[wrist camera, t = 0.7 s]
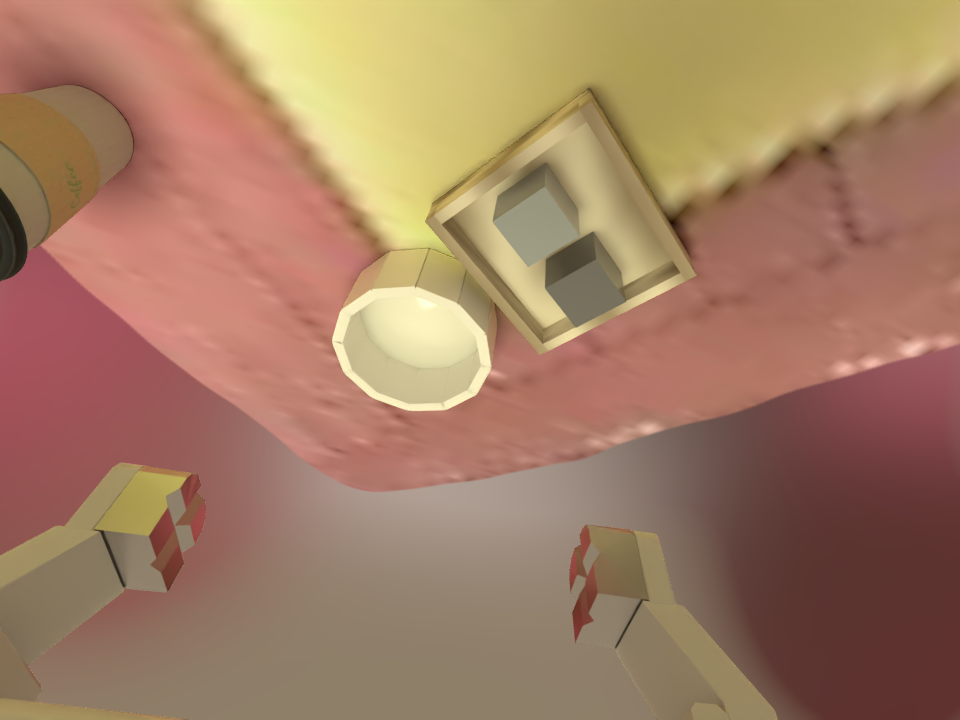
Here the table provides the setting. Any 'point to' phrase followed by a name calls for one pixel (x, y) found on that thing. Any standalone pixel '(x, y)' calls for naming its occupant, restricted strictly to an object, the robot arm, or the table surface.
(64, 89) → the coffee cup
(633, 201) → the parts tray
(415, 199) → the table surface
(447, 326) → the bowl
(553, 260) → the charcoal cube
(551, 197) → the taupe cube
